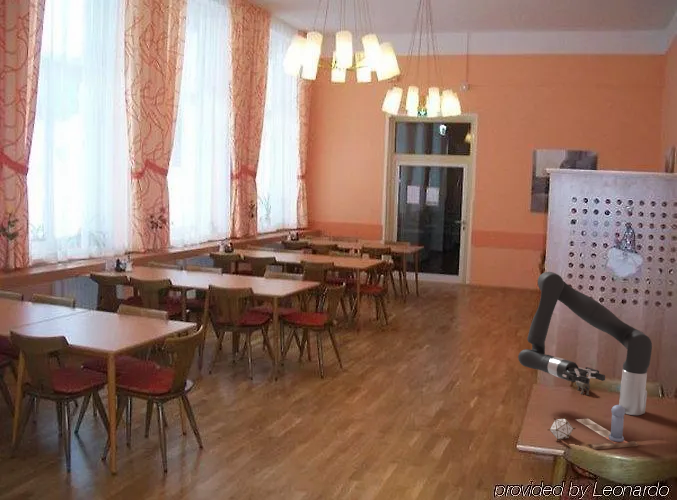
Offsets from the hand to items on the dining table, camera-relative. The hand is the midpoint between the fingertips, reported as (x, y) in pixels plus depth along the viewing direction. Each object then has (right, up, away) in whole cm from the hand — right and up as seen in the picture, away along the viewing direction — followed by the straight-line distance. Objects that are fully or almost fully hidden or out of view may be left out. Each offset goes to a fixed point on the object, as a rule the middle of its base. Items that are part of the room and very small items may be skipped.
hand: (596, 379), depth 267 cm
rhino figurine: (+12, -14, +53) cm, 56 cm away
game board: (-1, -20, +1) cm, 20 cm away
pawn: (+5, -20, -7) cm, 22 cm away
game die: (-15, -21, -6) cm, 27 cm away
